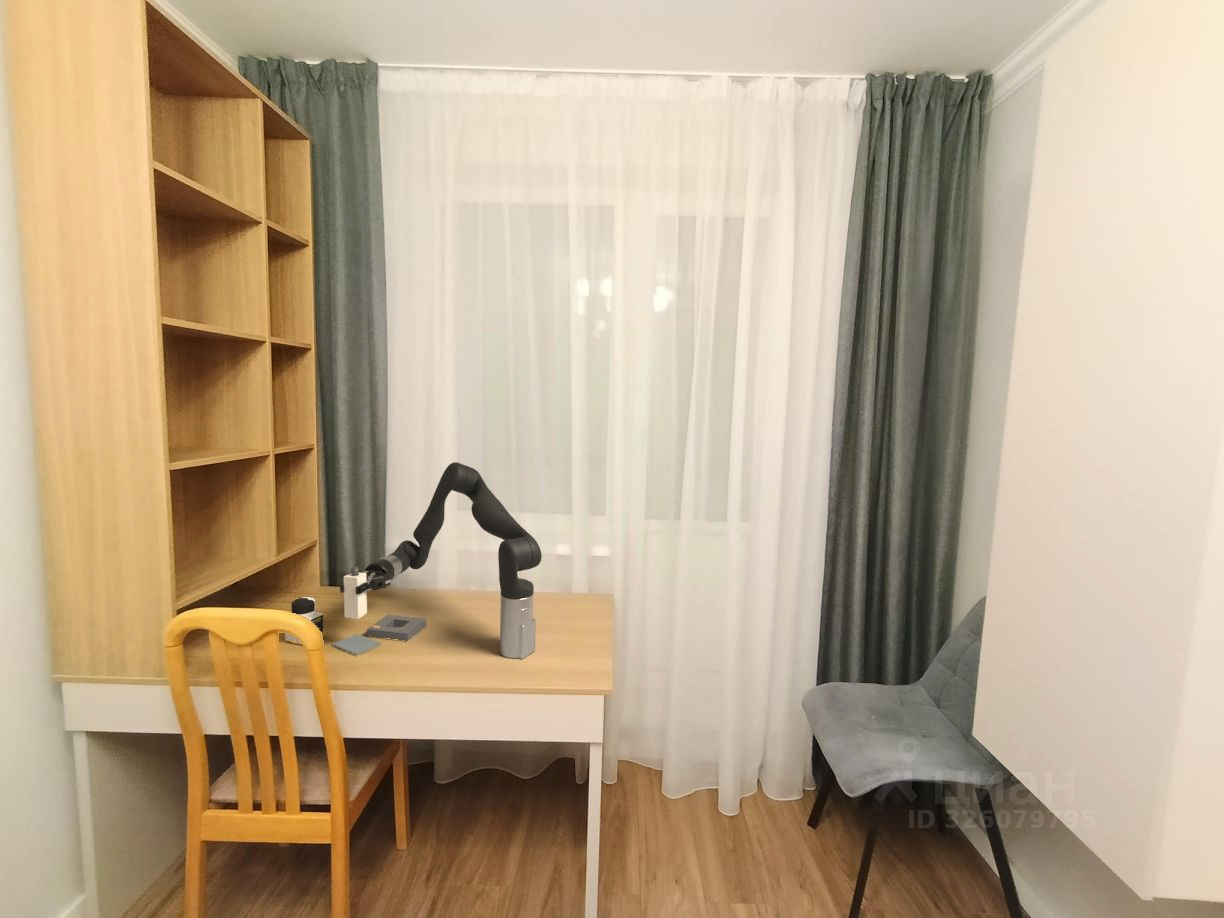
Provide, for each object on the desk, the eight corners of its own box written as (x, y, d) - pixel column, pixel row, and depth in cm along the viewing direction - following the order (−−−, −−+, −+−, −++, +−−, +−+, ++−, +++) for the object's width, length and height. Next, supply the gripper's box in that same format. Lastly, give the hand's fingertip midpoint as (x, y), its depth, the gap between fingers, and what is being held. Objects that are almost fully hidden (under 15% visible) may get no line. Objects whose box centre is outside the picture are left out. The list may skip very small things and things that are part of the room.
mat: (381, 645, 160) (381, 643, 160) (356, 656, 153) (356, 654, 153) (356, 635, 166) (356, 633, 166) (331, 645, 159) (331, 643, 159)
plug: (367, 613, 160) (366, 566, 158) (358, 619, 156) (357, 571, 154) (353, 611, 161) (352, 565, 159) (344, 617, 157) (343, 569, 155)
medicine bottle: (303, 646, 158) (302, 605, 156) (284, 641, 160) (283, 601, 159) (324, 636, 165) (322, 597, 163) (305, 631, 167) (304, 593, 165)
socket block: (426, 626, 174) (426, 617, 173) (407, 641, 163) (407, 632, 163) (387, 621, 176) (387, 613, 175) (367, 636, 165) (367, 628, 165)
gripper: (362, 556, 172) (325, 574, 155) (405, 560, 170) (372, 579, 153) (363, 579, 173) (326, 600, 156) (405, 584, 171) (372, 605, 154)
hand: (349, 590), depth 155 cm, fingers closed on plug, 4 cm apart
